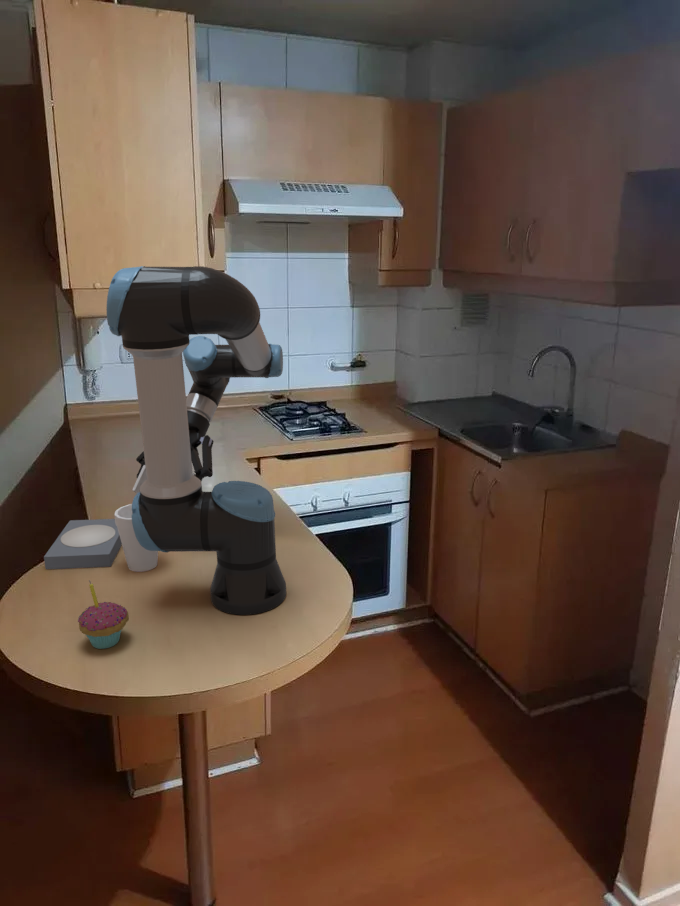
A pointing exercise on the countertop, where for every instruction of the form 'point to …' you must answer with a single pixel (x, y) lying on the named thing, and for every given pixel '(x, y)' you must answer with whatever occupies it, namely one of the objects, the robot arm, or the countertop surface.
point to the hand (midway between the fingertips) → (160, 497)
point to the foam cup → (133, 543)
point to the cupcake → (103, 622)
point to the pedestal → (85, 545)
